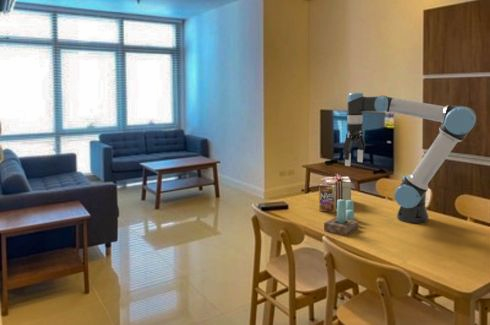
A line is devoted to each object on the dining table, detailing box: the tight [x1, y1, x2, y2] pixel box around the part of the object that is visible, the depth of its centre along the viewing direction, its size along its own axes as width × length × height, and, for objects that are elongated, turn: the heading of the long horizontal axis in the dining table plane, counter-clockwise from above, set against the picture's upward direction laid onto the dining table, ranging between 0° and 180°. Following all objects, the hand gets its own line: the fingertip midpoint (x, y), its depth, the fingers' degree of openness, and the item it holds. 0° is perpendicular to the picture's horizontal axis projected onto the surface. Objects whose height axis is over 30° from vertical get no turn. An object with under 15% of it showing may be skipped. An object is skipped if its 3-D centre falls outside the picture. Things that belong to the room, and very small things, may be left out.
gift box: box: [319, 173, 353, 207], centre depth 252 cm, size 17×18×17 cm
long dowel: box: [336, 199, 346, 224], centre depth 205 cm, size 4×4×15 cm
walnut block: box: [323, 216, 359, 236], centre depth 206 cm, size 12×12×4 cm
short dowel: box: [345, 209, 355, 221], centre depth 214 cm, size 4×4×7 cm
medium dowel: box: [345, 199, 355, 211], centre depth 222 cm, size 4×4×10 cm
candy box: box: [318, 183, 337, 213], centre depth 237 cm, size 9×4×15 cm, turn 61°
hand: (354, 163), depth 218 cm, fingers open, 13 cm apart
